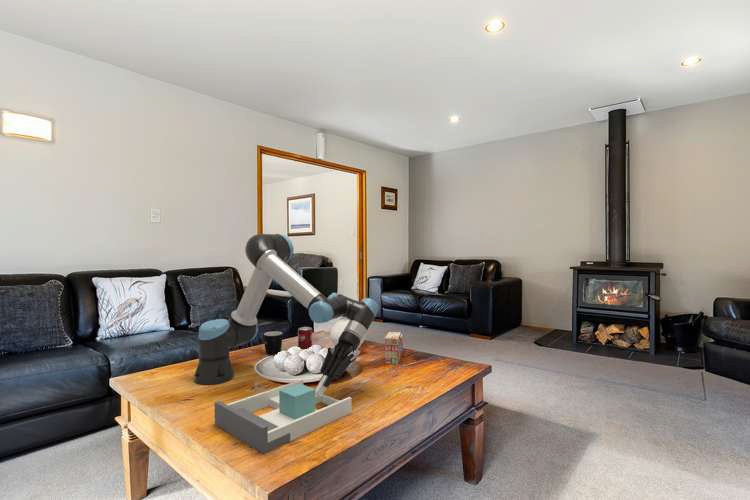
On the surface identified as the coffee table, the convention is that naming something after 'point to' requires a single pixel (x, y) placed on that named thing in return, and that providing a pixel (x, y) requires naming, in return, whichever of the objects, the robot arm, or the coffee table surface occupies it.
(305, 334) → the soda can
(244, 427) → the tray
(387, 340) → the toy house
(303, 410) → the block
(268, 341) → the mug
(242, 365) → the coffee table surface
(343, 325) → the decorative vase
